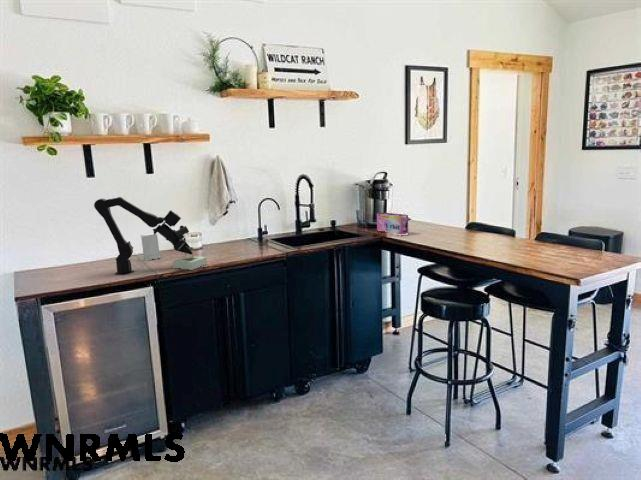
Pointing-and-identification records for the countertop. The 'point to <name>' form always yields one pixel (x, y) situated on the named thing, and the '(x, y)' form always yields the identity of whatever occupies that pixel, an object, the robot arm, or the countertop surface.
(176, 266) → the socket block
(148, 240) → the skincare box
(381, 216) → the gum box
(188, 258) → the peg
